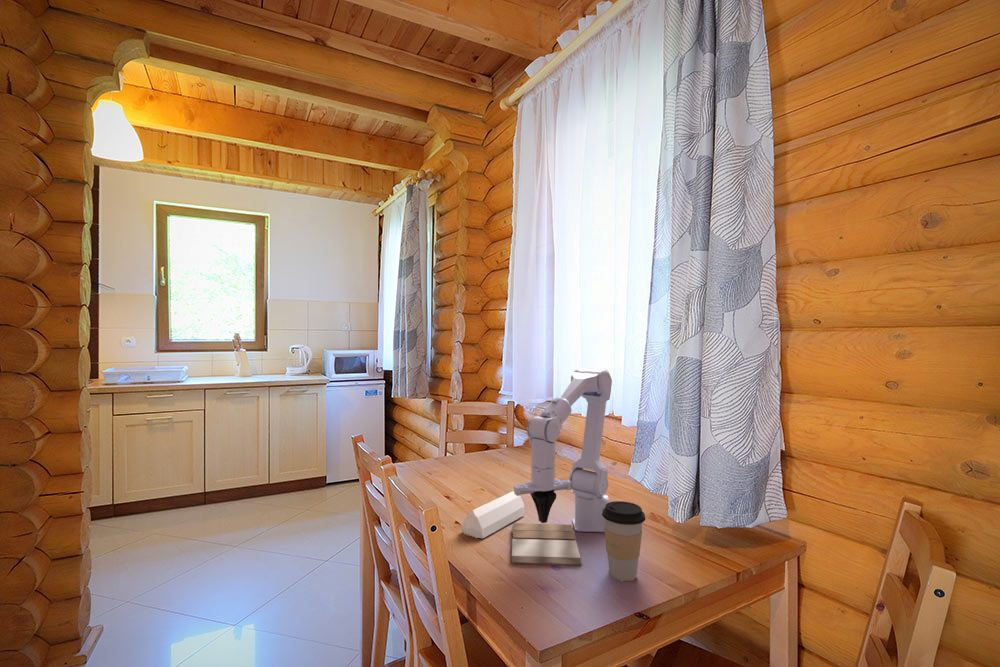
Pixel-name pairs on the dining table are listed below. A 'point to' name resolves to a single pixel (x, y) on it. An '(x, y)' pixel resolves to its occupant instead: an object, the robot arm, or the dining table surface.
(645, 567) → the dining table surface
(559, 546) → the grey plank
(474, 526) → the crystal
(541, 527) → the walnut boards
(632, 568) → the coffee cup
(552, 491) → the robot arm
